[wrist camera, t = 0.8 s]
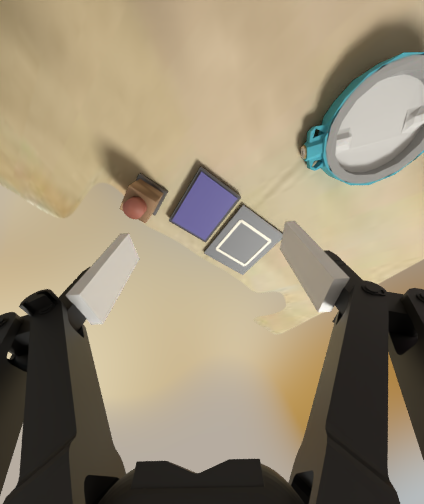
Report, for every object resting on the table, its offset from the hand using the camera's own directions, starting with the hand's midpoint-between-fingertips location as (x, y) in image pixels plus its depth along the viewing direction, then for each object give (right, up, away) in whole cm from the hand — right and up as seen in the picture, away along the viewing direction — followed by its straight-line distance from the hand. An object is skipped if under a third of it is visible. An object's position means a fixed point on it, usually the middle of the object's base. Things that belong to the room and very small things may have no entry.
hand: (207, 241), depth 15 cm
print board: (+7, +1, +24) cm, 25 cm away
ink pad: (-1, +8, +19) cm, 21 cm away
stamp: (-12, +10, +18) cm, 24 cm away
